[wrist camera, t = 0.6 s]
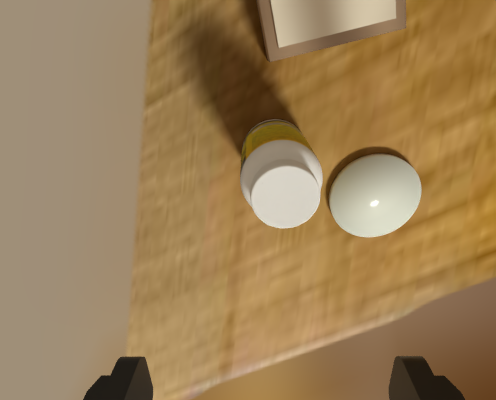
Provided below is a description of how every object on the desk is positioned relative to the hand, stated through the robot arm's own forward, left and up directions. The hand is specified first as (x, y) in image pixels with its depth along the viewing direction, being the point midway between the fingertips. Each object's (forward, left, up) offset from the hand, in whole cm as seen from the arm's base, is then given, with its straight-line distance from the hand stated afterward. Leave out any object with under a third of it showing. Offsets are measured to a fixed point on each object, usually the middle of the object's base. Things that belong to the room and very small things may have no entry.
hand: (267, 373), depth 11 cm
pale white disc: (-11, +7, -23) cm, 27 cm away
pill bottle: (-2, 0, -24) cm, 24 cm away
